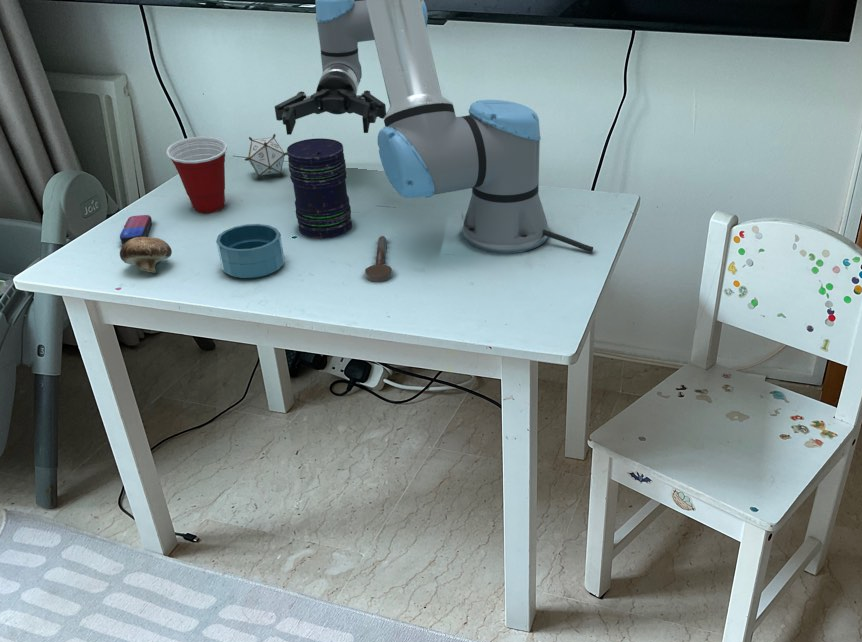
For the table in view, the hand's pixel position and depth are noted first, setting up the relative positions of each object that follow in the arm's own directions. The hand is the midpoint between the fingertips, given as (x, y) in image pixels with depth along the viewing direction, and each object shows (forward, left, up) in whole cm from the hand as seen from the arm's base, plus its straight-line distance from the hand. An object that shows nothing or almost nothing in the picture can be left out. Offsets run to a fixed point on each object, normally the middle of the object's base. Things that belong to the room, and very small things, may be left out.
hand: (326, 126), depth 159 cm
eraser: (+31, +18, -17) cm, 40 cm away
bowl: (+4, +24, -17) cm, 29 cm away
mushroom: (+21, +29, -17) cm, 40 cm away
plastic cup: (+25, +4, -17) cm, 30 cm away
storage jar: (0, +6, -17) cm, 18 cm away
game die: (+22, -14, -17) cm, 31 cm away
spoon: (-16, +16, -17) cm, 28 cm away
